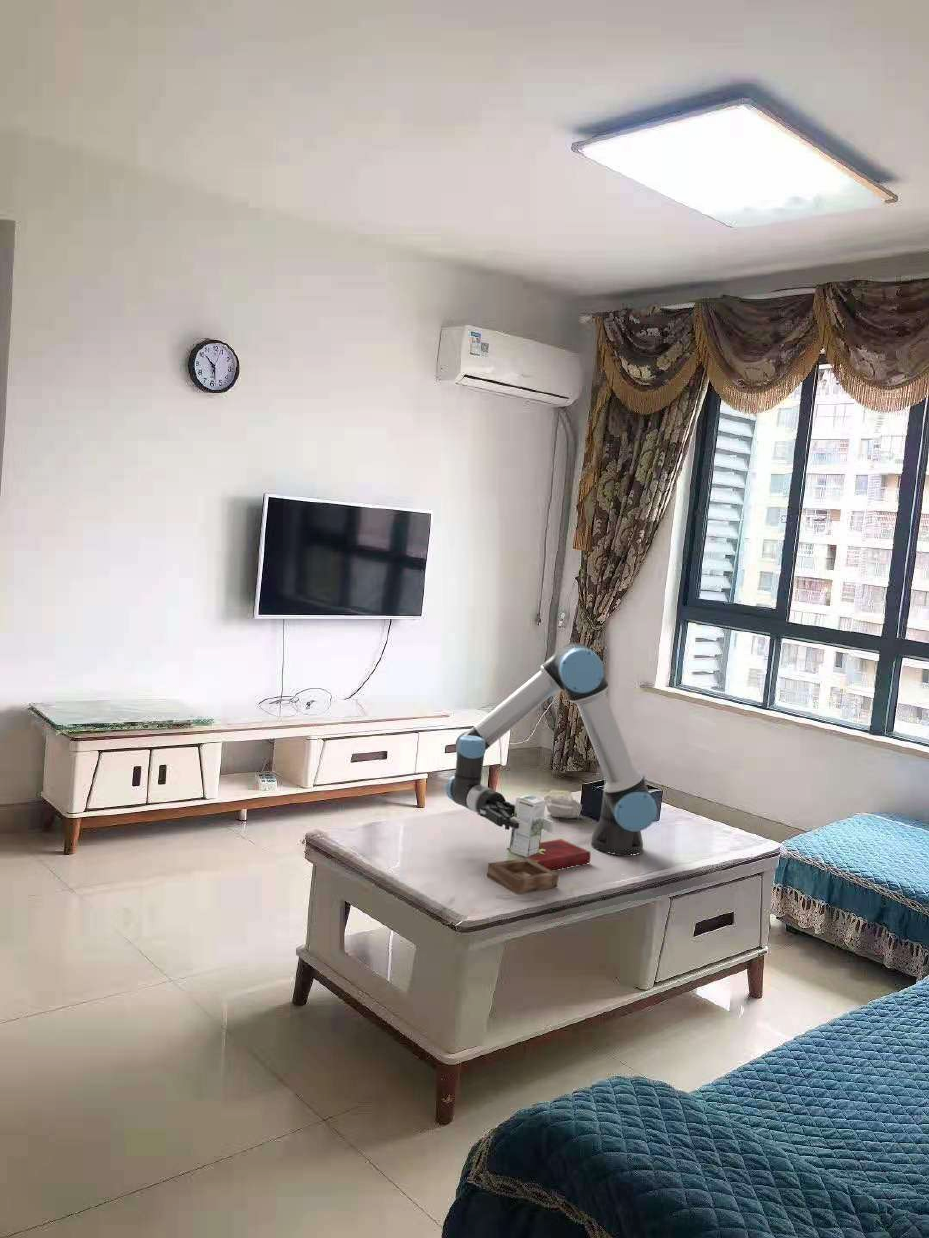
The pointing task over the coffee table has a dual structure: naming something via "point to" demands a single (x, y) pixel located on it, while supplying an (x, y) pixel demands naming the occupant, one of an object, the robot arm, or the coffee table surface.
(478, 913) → the coffee table surface
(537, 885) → the walnut holder
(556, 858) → the hardcover book
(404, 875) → the coffee table surface
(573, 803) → the fossil replica
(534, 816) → the syrup box
